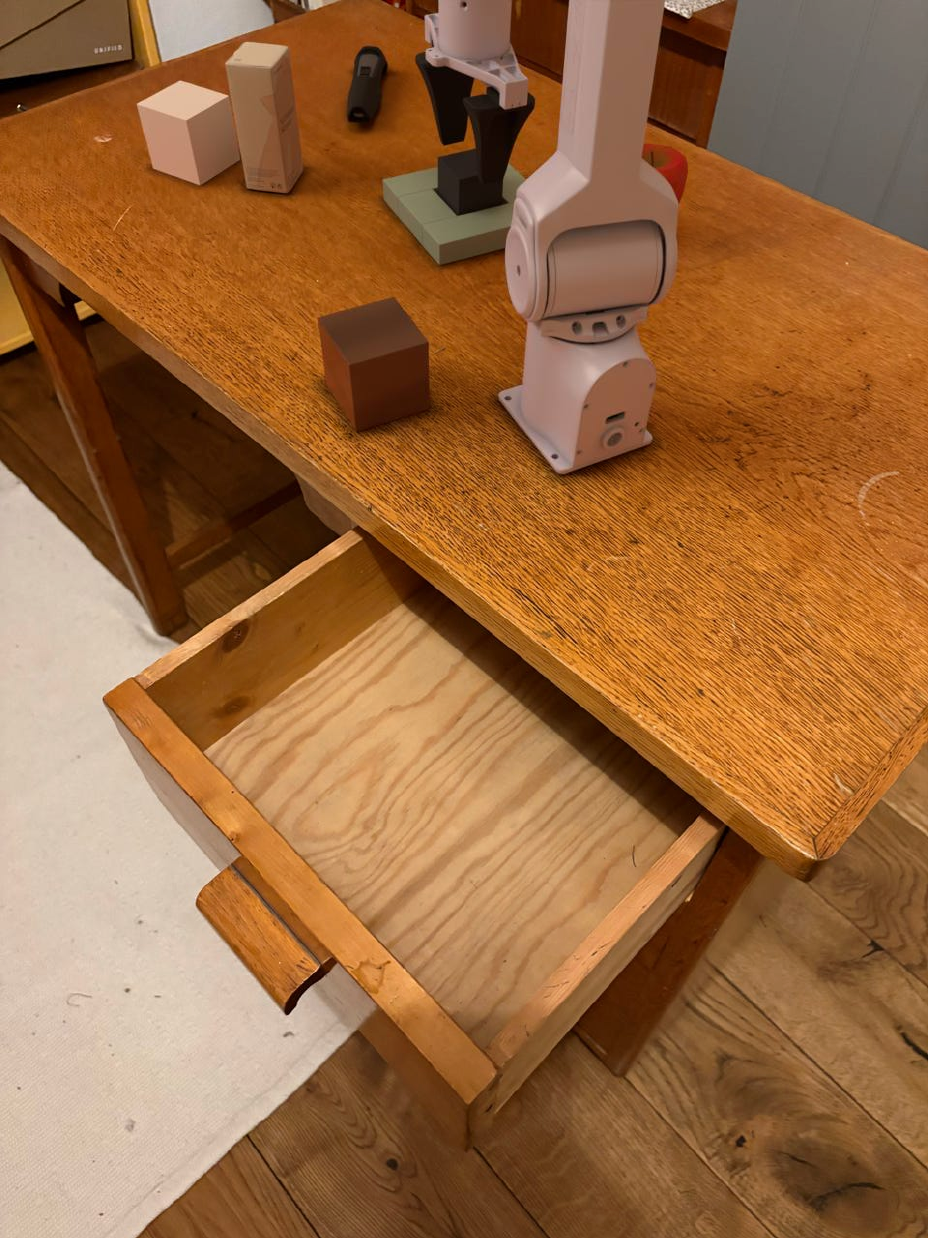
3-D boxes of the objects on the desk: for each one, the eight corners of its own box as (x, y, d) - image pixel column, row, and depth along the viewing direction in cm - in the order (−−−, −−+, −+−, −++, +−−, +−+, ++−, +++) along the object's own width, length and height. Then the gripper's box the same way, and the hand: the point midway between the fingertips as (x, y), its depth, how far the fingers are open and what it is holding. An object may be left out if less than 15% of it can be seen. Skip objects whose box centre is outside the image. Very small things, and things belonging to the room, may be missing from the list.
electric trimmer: (340, 135, 94) (337, 103, 91) (356, 68, 103) (354, 37, 100) (376, 137, 94) (374, 104, 91) (389, 69, 103) (388, 38, 100)
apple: (655, 210, 85) (671, 128, 79) (686, 245, 82) (705, 161, 76) (594, 222, 84) (605, 139, 78) (623, 257, 80) (638, 173, 74)
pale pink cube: (240, 159, 90) (229, 95, 85) (200, 185, 87) (186, 120, 82) (193, 143, 92) (180, 79, 87) (152, 168, 89) (136, 103, 84)
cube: (430, 409, 68) (429, 341, 63) (355, 432, 66) (349, 364, 61) (397, 363, 71) (394, 295, 66) (325, 384, 69) (317, 316, 64)
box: (288, 195, 86) (270, 68, 77) (245, 189, 86) (222, 63, 78) (305, 168, 89) (289, 43, 80) (263, 163, 90) (243, 38, 81)
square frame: (559, 233, 83) (561, 212, 81) (439, 265, 79) (439, 244, 78) (496, 172, 89) (498, 152, 88) (383, 199, 86) (382, 178, 84)
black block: (501, 222, 84) (504, 168, 80) (458, 233, 82) (459, 179, 78) (479, 200, 86) (481, 146, 82) (437, 210, 85) (437, 156, 81)
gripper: (389, -43, 72) (396, 134, 83) (472, 24, 64) (468, 209, 75) (468, -55, 74) (465, 119, 85) (558, 8, 66) (542, 191, 77)
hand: (471, 160), depth 80 cm, fingers open, 7 cm apart
